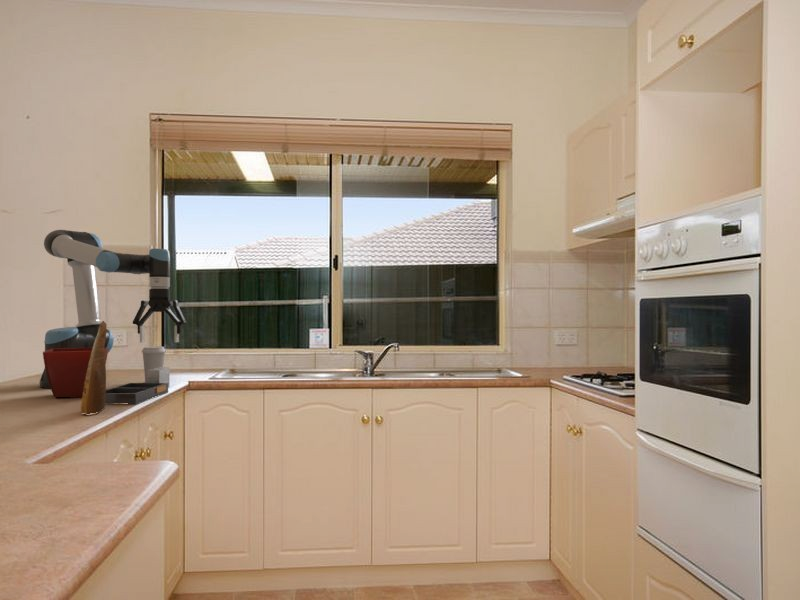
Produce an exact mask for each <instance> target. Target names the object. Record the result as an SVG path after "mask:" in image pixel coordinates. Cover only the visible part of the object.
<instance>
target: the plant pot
mask: <svg viewBox="0 0 800 600" xmlns="http://www.w3.org/2000/svg"><path fill="white" fill-rule="evenodd" d="M104 351H105V366H106V364H107V359H108V354H109V353H108V347H104ZM91 352H92V348H59V349H50V350H47V351H45V350H44V351H42V358H43V363H44V368H45V369H46V374H47V377H48V381H49V384H50V387H51V388H50V389H51V393H52V396H53V398H54V397H71V398H82V395H83V389H84V383H85V378H86V373H87V369H88V364H89V360H90V356H91Z"/></svg>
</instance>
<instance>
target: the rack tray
mask: <svg viewBox="0 0 800 600" xmlns="http://www.w3.org/2000/svg"><path fill="white" fill-rule="evenodd" d="M167 393H169V388H168V383H145V382H127V383H123V384H121V385H118V386H117V385H116V386H113V387H110V388H106V397H105V403H128V404H127V405H138V404H140V403H139V402H141V403H143V402H146V401H148V400H147V399H149V400H151V399H150V398H152V397H154V398H156V397H155V396H157V397H159V396H158V395H160V396H162V395H165V394H167ZM152 399H153V398H152ZM145 400H146V401H145ZM142 401H143V402H142ZM137 403H138V404H137Z"/></svg>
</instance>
